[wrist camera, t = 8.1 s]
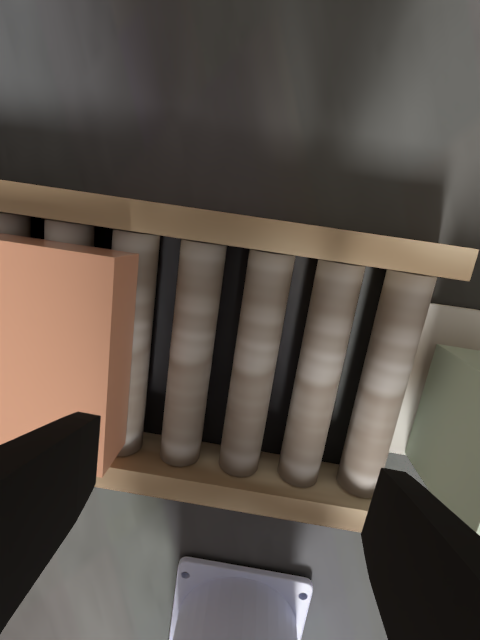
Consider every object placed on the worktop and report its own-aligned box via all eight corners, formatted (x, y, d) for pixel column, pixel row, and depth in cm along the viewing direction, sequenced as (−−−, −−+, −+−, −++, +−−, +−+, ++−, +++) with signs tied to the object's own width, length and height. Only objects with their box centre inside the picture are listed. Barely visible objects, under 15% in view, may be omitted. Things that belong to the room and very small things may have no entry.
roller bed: (500, 511, 19) (546, 564, 16) (-50, 418, 20) (-107, 452, 17) (593, 269, 16) (672, 277, 13) (-65, 173, 17) (-138, 159, 14)
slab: (125, 443, 17) (102, 478, 15) (-76, 409, 17) (-131, 438, 15) (139, 253, 15) (114, 257, 12) (-91, 219, 15) (-159, 216, 13)
